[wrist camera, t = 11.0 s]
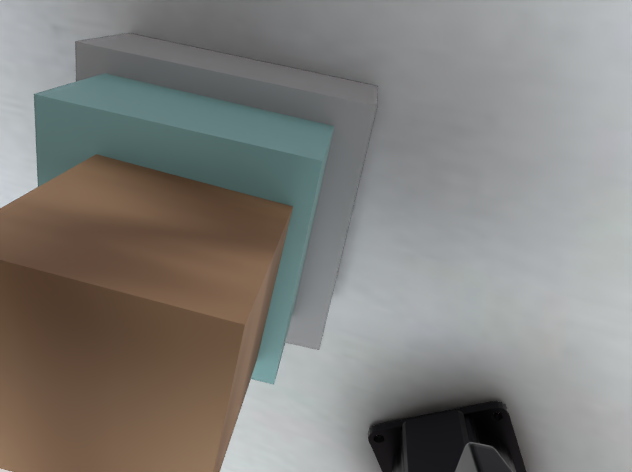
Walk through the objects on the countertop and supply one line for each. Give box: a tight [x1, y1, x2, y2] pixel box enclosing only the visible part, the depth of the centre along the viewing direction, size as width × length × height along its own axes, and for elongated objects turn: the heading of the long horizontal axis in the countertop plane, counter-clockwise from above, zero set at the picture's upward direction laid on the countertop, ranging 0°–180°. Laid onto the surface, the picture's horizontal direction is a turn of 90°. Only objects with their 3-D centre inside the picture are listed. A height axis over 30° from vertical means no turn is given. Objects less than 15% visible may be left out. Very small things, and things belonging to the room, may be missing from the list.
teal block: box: [34, 73, 334, 384], centre depth 15 cm, size 7×7×4 cm
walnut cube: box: [0, 154, 293, 472], centre depth 11 cm, size 5×5×5 cm
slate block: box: [75, 33, 378, 350], centre depth 19 cm, size 9×9×4 cm
